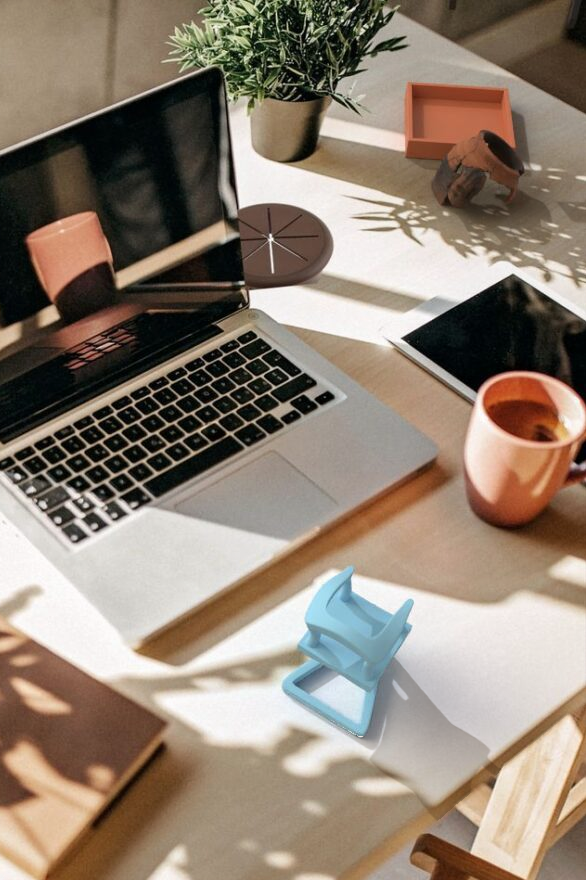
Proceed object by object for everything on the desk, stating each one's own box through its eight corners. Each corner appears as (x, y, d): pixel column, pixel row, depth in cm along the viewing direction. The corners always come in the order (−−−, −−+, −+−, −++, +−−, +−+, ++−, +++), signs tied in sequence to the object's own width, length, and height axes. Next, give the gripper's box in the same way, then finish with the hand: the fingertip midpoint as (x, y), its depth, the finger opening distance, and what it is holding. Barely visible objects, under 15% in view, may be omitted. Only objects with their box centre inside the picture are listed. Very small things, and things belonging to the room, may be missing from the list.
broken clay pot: (435, 165, 122) (480, 113, 116) (491, 216, 123) (538, 167, 117) (411, 197, 113) (458, 142, 108) (471, 251, 114) (521, 200, 109)
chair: (411, 662, 81) (437, 587, 71) (361, 740, 77) (381, 672, 67) (332, 616, 83) (346, 537, 74) (279, 689, 79) (287, 616, 70)
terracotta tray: (504, 105, 129) (508, 88, 127) (511, 164, 122) (515, 147, 120) (404, 98, 130) (407, 81, 128) (405, 157, 122) (408, 140, 120)
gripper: (665, -155, 110) (615, 42, 113) (445, -183, 113) (404, 10, 117) (683, -193, 102) (629, 19, 106) (447, -221, 106) (403, -15, 110)
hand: (511, 15), depth 111 cm, fingers open, 13 cm apart
